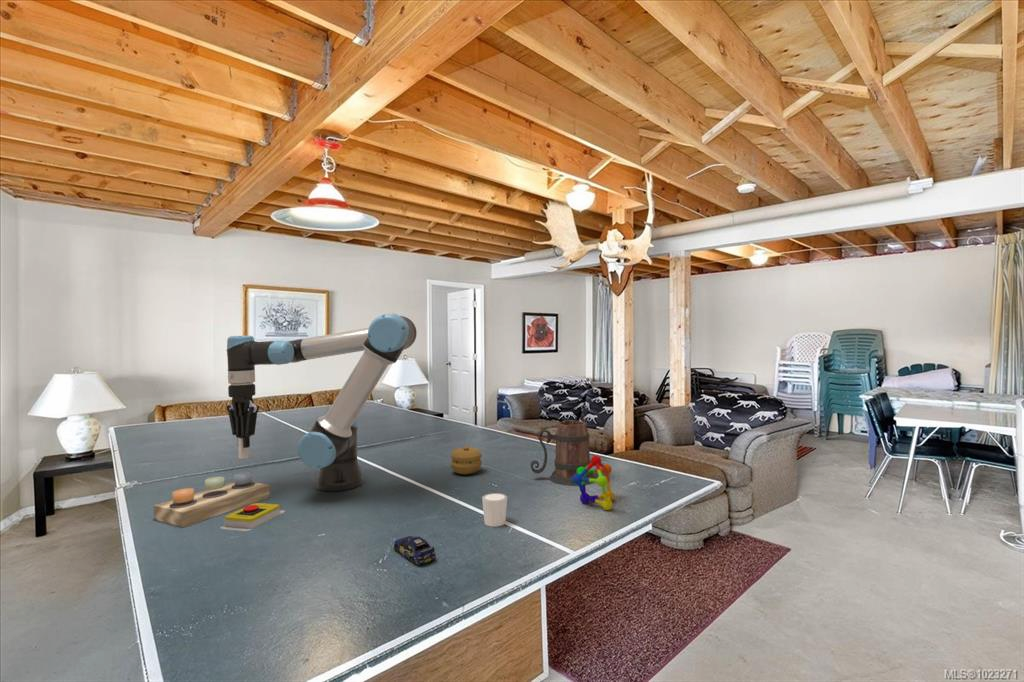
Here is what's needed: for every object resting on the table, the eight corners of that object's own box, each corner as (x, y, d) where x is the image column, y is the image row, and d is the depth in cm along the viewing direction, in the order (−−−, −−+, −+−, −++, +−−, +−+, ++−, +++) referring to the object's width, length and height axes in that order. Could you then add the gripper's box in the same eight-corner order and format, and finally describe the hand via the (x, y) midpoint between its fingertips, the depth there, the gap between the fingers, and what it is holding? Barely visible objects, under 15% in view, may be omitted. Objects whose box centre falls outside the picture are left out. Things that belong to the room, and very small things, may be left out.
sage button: (228, 486, 143) (228, 477, 143) (211, 490, 138) (211, 482, 138) (218, 484, 145) (217, 475, 145) (201, 488, 140) (201, 480, 140)
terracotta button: (197, 498, 135) (197, 489, 135) (179, 504, 130) (179, 494, 130) (187, 496, 137) (187, 487, 137) (168, 501, 132) (168, 492, 132)
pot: (455, 468, 182) (454, 442, 182) (484, 468, 181) (484, 442, 181) (446, 476, 171) (446, 449, 171) (478, 477, 169) (478, 450, 169)
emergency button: (217, 514, 126) (259, 496, 140) (218, 530, 126) (260, 510, 140) (247, 517, 123) (286, 498, 138) (247, 533, 123) (286, 512, 138)
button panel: (269, 497, 150) (269, 484, 150) (183, 527, 127) (183, 511, 127) (241, 491, 156) (241, 479, 156) (153, 519, 133) (153, 504, 133)
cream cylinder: (488, 529, 123) (488, 502, 123) (478, 520, 129) (478, 495, 129) (512, 524, 126) (511, 498, 126) (500, 516, 132) (500, 491, 132)
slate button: (255, 480, 151) (255, 472, 151) (240, 485, 146) (240, 477, 146) (245, 479, 153) (245, 471, 153) (230, 483, 149) (230, 475, 149)
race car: (382, 551, 112) (382, 532, 112) (406, 542, 117) (406, 524, 117) (420, 571, 102) (419, 551, 102) (444, 560, 107) (444, 541, 107)
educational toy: (572, 499, 148) (571, 451, 149) (613, 501, 146) (612, 452, 148) (573, 513, 132) (572, 459, 134) (619, 514, 131) (618, 460, 132)
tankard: (591, 471, 175) (590, 418, 175) (601, 485, 158) (601, 426, 158) (529, 472, 174) (528, 419, 174) (532, 487, 158) (531, 427, 157)
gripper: (217, 384, 149) (219, 458, 149) (244, 385, 143) (246, 462, 143) (239, 382, 156) (242, 453, 156) (266, 383, 150) (268, 456, 150)
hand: (244, 457), depth 150 cm, fingers closed
